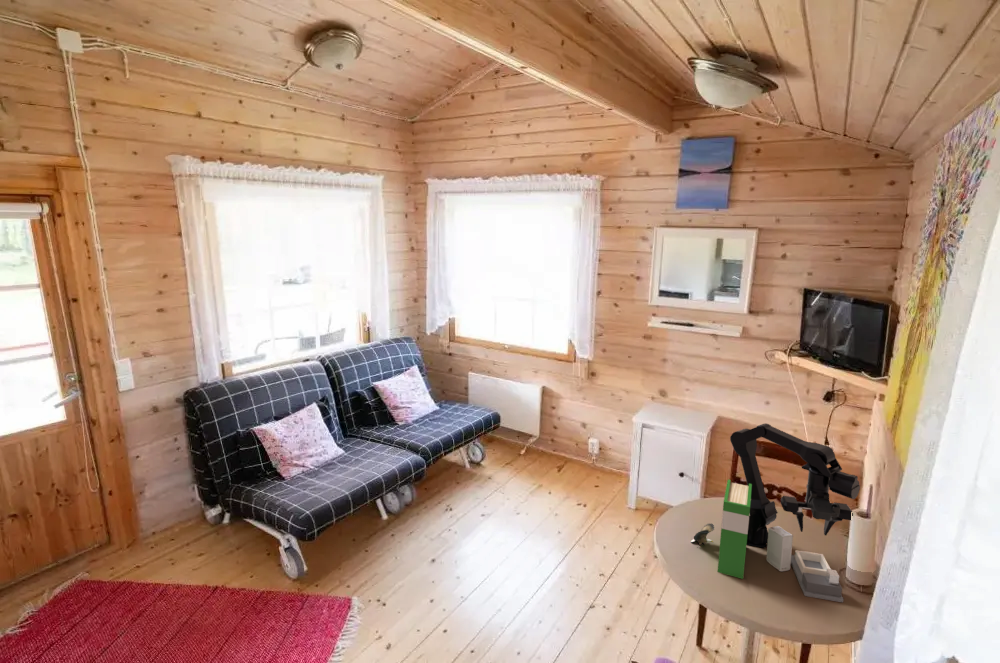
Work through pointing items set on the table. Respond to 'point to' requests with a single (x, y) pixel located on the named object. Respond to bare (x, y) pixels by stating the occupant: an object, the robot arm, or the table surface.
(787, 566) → the skincare box
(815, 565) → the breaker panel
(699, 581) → the table surface
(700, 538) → the eagle figurine
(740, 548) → the hardback book
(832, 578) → the breaker handle
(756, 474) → the robot arm
